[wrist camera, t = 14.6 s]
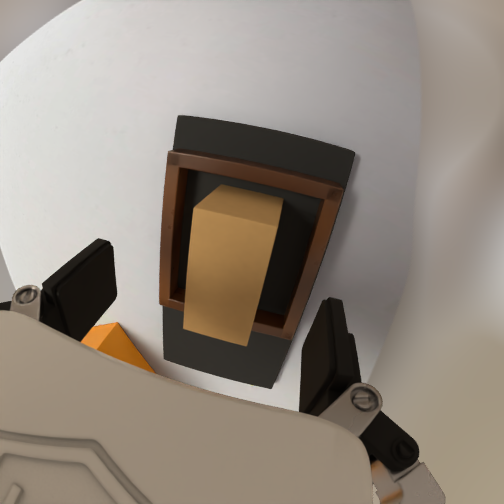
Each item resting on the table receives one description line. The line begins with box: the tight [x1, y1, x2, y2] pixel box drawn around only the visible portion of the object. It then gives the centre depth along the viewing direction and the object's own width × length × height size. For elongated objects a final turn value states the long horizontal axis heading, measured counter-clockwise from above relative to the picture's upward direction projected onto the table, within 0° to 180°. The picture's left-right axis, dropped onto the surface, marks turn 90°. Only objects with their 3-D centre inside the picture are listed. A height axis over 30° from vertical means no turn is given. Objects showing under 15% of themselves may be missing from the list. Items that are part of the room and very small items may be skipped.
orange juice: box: [81, 322, 156, 374], centre depth 17 cm, size 8×9×20 cm
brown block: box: [183, 184, 284, 346], centre depth 15 cm, size 4×7×4 cm, turn 169°
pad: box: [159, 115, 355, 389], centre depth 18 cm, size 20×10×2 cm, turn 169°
